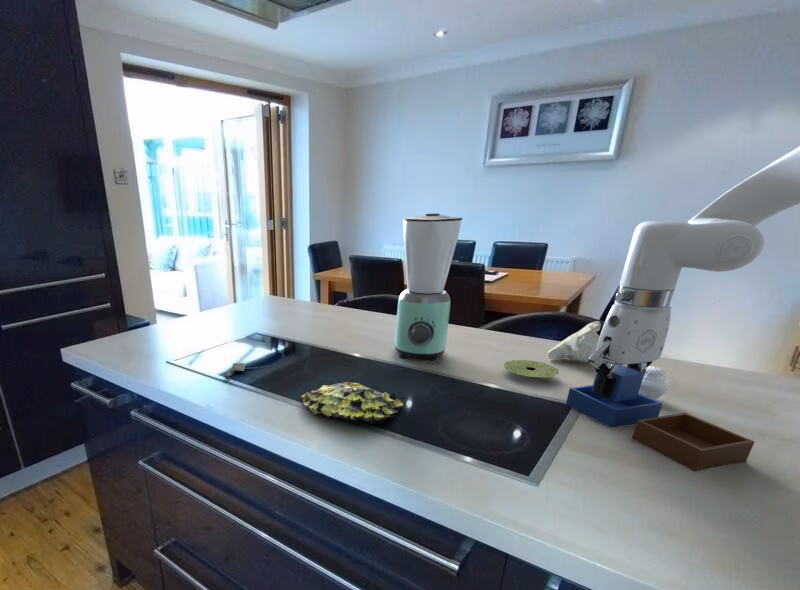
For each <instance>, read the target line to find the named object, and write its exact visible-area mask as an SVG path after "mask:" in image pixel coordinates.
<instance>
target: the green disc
mask: <svg viewBox="0 0 800 590" xmlns="http://www.w3.org/2000/svg"><path fill="white" fill-rule="evenodd" d="M503 367H504V368H505V370H507V371H509V372H511V373H513V374H516V375H519V376H524V377H528V378H530V377H531V378H553V377H556V376H557V375H559V373H560V371H559V369H558V368H556V367H555V366H552V365H550V364H548V363H546V362H541V361H535V360H528V359H527V360H526V359H514V360H508V361H505V362H504V364H503Z"/></svg>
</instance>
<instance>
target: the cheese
mask: <svg viewBox="0 0 800 590" xmlns="http://www.w3.org/2000/svg"><path fill="white" fill-rule="evenodd" d="M600 330H601V322H600V321H599V320H598V321H597V320H596V321H592V322H590V323H587V324H586V325H585V326H583V327H582V328H581V329H580V330H578V331H576V332H575V333H572V334H571V335H569V336H567V337H566V338H565V339H563V340H561V341H560V342H559V343H557V344H556V345H555V346H554V347H552V348H551V349H549V350H548V351H547V353H546V355H547V357H548V359H550V360H554V361H556V360H563V359H564V360H566V359H568V360H576V361H579V362H583V363H587V362H589V358H590V357H591V356H592V355H593V353H594V352H595V351H596V349H597V344H598V341H599V337H600V334H598V333H597V332H599V331H600Z"/></svg>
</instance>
